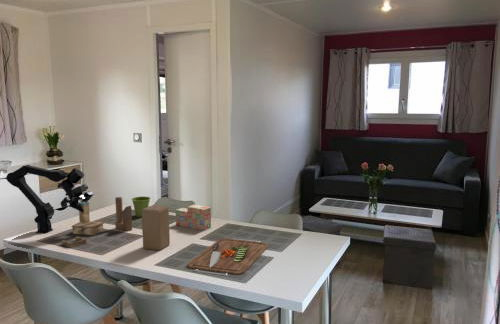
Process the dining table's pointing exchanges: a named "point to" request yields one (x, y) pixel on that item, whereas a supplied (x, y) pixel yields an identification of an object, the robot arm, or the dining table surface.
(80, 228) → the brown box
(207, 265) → the chopping board
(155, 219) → the wooden block
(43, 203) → the robot arm
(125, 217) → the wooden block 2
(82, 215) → the teal long block
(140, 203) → the plant pot
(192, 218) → the stack of blocks
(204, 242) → the dining table surface
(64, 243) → the frame
